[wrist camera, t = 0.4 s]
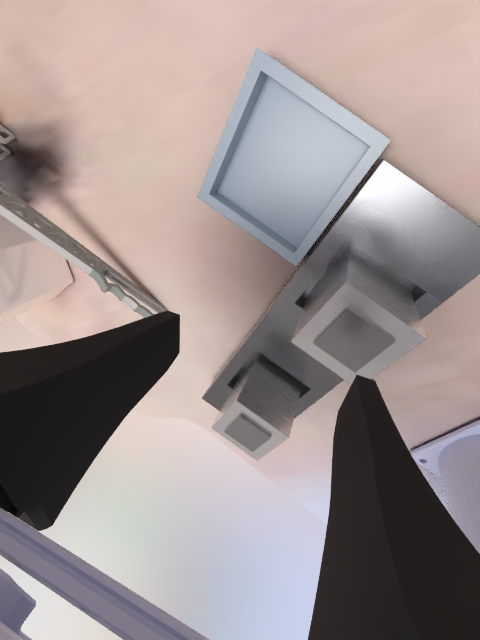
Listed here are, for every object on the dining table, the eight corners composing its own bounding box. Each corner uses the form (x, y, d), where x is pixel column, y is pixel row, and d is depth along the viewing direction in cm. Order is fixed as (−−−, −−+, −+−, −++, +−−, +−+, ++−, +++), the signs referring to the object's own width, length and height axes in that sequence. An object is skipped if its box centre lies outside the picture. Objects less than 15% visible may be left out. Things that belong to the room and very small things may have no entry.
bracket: (-62, 70, 19) (-218, 112, 13) (190, 250, 30) (174, 321, 24) (-65, 111, 21) (-203, 165, 15) (174, 266, 32) (155, 337, 26)
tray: (388, 141, 14) (391, 140, 13) (301, 257, 19) (296, 266, 17) (267, 57, 14) (256, 47, 13) (209, 193, 19) (197, 197, 17)
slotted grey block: (304, 375, 22) (288, 440, 17) (277, 400, 25) (256, 463, 20) (263, 346, 22) (235, 402, 17) (240, 373, 25) (209, 430, 20)
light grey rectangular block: (407, 282, 16) (427, 341, 11) (358, 326, 19) (357, 391, 14) (351, 243, 16) (345, 283, 11) (309, 292, 19) (289, 343, 14)
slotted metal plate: (491, 235, 15) (511, 248, 13) (271, 421, 28) (263, 442, 26) (380, 158, 15) (384, 160, 13) (213, 380, 28) (201, 398, 26)
